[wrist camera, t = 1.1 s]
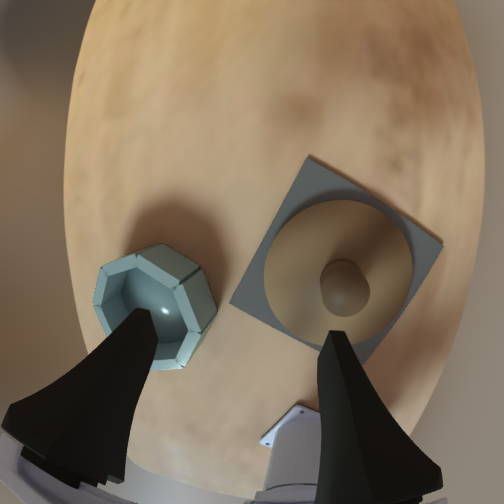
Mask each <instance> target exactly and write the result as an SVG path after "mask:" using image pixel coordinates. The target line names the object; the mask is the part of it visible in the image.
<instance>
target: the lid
mask: <svg viewBox="0 0 504 504" xmlns="http://www.w3.org/2000/svg"><path fill="white" fill-rule="evenodd" d="M412 273H413V266H412V257H411V253H410V249H409V246H408V244H407V241H406V239H405V237H404V235H403V234H402V232H401V231H400V229H399V228H398V227H397V225H396V224H395V223H394V222H393V221H392V220H391V219H390V218H389V217H388V216H386V215H385V214H384V213H382V212H381V211H379V210H377V209H376V208H374V207H372V206H369V205H366V204H364V203H360V202H356V201H351V200H330V201H325V202H321V203H318V204H315V205H312V206H310V207H308V208H306V209H304V210H302V211H301V212H299V213H298V214H296V215H295V216H293V217H292V218H291V219H290V220H289V221H288V222H287V223H286V224H285V225H284V226H283V227H282V229H281V230H280V231H279V232H278V234H277V236H276V237H275V239H274V240H273V242H272V244H271V246H270V249H269V251H268V254H267V257H266V261H265V267H264V287H265V293H266V297H267V300H268V302H269V305H270V307H271V309H272V311H273V313H274V314H275V316H276V317H277V319H278V320H279V321H280V322H281V323H282V324H283V326H284V327H285V328H286V329H288V330H289V331H290V332H292V333H293V334H294V335H296V336H298V337H299V338H301V339H303V340H305V341H308V342H310V343H313V344H317V345H322V346H323V345H324V342H325V340H326V337H327V335H328V332H329V330H340V331H345V333H346V335H347V337H348V339H349V341H350V343H351V345H353V344H357V343H360V342H363V341H365V340H367V339H369V338H371V337H373V336H375V335H376V334H378V333H380V332H381V331H382V330H383V329H385V328H386V327H387V326H388V325H389V324H390V323H391V322H392V321H393V320H394V319H395V318H396V316H397V315H398V314H399V312H400V311H401V309H402V307H403V306H404V304H405V302H406V299H407V297H408V294H409V291H410V288H411V283H412Z"/></svg>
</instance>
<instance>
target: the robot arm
mask: <svg viewBox="0 0 504 504" xmlns="http://www.w3.org/2000/svg"><path fill="white" fill-rule="evenodd" d="M158 341H159V340H158V336H157V333H156V330H155V327H154V323H153V320H152V317H151V313H150V310H148V309H142V308H137V307H136V308H135V309H134V310H133V311H132V312H131V313H130V314H129V315H128V316H127V317H126V318H125V319H124V320H123V321H122V323H121V324H120V325H119V326H118V327H117V328H116V329H115V330H114V331H113V332H112V333H111V334H110V335H109V336H108V337H107V338H106V339H105V340H104V341H103V342H102V343H101V344H100V345H99V346H98V347H97V348H95V349H94V350H93V351H92V352H91V353H90V354H89V355H88V356H87V357H86V358H85V359H83V360H82V361H81V362H80V363H79V364H78V365H76V366H75V367H74V368H73V369H71V370H70V371H69V372H67V373H66V374H65V375H63V376H62V377H60V378H59V379H58V380H56V381H55V382H53V383H52V384H50V385H48V386H47V387H45V388H43V389H42V390H40V391H38V392H36V393H35V394H32V395H31V396H29V397H26V398H24V399H22V400H20V401H17V402H15V403H13V404H11V405H10V406H9V408H8V410H7V413H6V415H5V417H4V419H3V422H2V424H1V427H2V429H3V430H5V431H6V432H7V433H8V434H9V435H11V436H12V437H13V438H15V439H16V440H17V441H19V442H20V443H22V444H23V445H24V446H23V445H22V444H20V443H18V442H17V441H15V440H14V439H13V438H11V437H10V436H8V435H7V434H6V433H2V435H1V438H0V481H1V482H2V483H3V484H4V485H6V486H7V487H8V488H9V489H10V490H11V491H12V492H13V493H14V494H15V495H16V496H17V497H18V498H19V499H20V500H21V501H22V502H23V503H25V504H137V503H134V502H131V501H129V500H126V499H123V498H121V497H118V496H115V495H113V494H111V493H108V492H106V491H103V490H101V489H99V488H97V484H98V483H100V484H103V485H105V484H106V481H107V480H108V481H111V482H114V483H117V484H120V483H122V482H124V476H125V463H126V454H127V447H128V441H129V435H130V430H131V425H132V421H133V416H134V412H135V409H136V405H137V402H138V400H139V397H140V394H141V392H142V389H143V387H144V384H145V381H146V379H147V376H148V374H149V371H150V368H151V366H152V363H153V360H154V357H155V353H156V349H157V345H158ZM317 385H318V396H319V407H320V413H318V412H316V411H313V410H311V409H308V408H306V407H303V406H301V405H295V406H294V407H293V408H292V409H291V410H290V411H289V412H288V413H287V414H286V415H285V416H284V417H283V418H282V419H281V420H280V421H279V422H278V423H277V424H276V425H275V426H274V427H273V428H272V429H271V430H270V431H269V432H268V433H266V434H265V435H264V436H263V437H262V438H261V439H260V443H261V444H262V445H265V446H267V447H270V448H272V451H271V455H270V460H269V465H268V470H267V474H266V479H265V483H264V487H263V491H257V492H256V495H255V499H254V500H247V501H246V502H244V503H243V504H419V502H422V500H423V498H422V495H425V494H428V493H431V492H434V491H437V490H439V489H441V488H442V487H443V479H442V472H441V468H440V467H439V466H438V465H437V464H436V463H434V462H433V461H432V460H431V459H430V458H429V457H428V456H427V455H426V454H424V453H423V452H422V451H421V450H420V449H419V447H417V446H416V445H415V444H414V442H413V441H412V440H411V439H410V438H409V436H408V435H407V434H406V433H405V432H404V431H403V430H402V428H401V427H400V426H399V425H398V423H397V422H396V421H395V419H394V418H393V417H392V415H391V414H390V412H389V411H388V410H387V408H386V407H385V405H384V404H383V402H382V401H381V399H380V397H379V396H378V394H377V392H376V391H375V389H374V387H373V386H372V384H371V382H370V380H369V379H368V377H367V375H366V373H365V371H364V369H363V368H362V366H361V364H360V362H359V360H358V358H357V356H356V354H355V352H354V350H353V347H352V345H351V343H350V341H349V339H348V337H347V335H346V333H345V331H340V330H329V332H328V335H327V337H326V340H325V342H324V345H323V347H322V349H321V352H320V354H319V357H318V363H317ZM427 504H448V499H447V498H446V497H445V498H442V499H439V500H436V501H433V502H430V503H427Z"/></svg>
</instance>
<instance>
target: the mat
mask: <svg viewBox="0 0 504 504" xmlns="http://www.w3.org/2000/svg"><path fill="white" fill-rule="evenodd" d="M330 200H351V201H356V202H360V203H364V204H366V205H369V206H372V207H374V208H376V209H377V210H379V211H381V212H382V213H384V214H385V215H386V216H388V217H389V218H390V219H391V220H392V221H393V222H394V223H395V224H396V225H397V227H398V228H399V229H400V231H401V232H402V234H403V235H404V237H405V239H406V241H407V244H408V246H409V249H410V253H411V257H412V266H413V273H412V283H411V288H410V291H409V294H408V297H407V299H406V302H405V304H404V306H403V307H402V309H401V311H400V312H399V314H398V315H397V316H396V318H395V319H394V320H393V321H392V322H391V323H390V324H389V325H388V326H387V327H386V328H385V329H383V330H382V331H381V332H380V333H378V334H376V335H375V336H373V337H371V338H369V339H367V340H365V341H363V342H360V343H357V344H353V345H352V347H353V350H354V352H355V354H356V356H357V358H358V360H359V362H360V364H361V365H362V364H363V363H364V362H365V361H366V360H367V358H368V357H369V356H370V355H371V353H372V352H373V351H374V350H375V348H376V347H377V346H378V345H379V343H380V342H381V341H382V340H383V338H384V337H385V336H386V334H387V333H388V332H389V330H390V329H391V328H392V326H393V325H394V324H395V322H396V321H397V320H398V318H399V317H400V315H401V314H402V312H403V311H404V310H405V308H406V307H407V305H408V304H409V302H410V301H411V299H412V298H413V296H414V295H415V293H416V292H417V290H418V289H419V287H420V285H421V284H422V282H423V281H424V279H425V277H426V276H427V274H428V273H429V271H430V269H431V267H432V266H433V264H434V262H435V261H436V259H437V257H438V255H439V254H440V252H441V250H442V248H443V245H442V244H440V243H439V242H438V241H436V240H435V239H434V238H432V237H431V236H430V235H428V234H427V233H426V232H424V231H423V230H422V229H420V228H419V227H418V226H416V225H415V224H413V223H412V222H411V221H409V220H408V219H406V218H405V217H403V216H402V215H401V214H399V213H398V212H396V211H395V210H393V209H392V208H390V207H389V206H387V205H386V204H384V203H383V202H381V201H379V200H378V199H376V198H375V197H373V196H372V195H370V194H368V193H367V192H365V191H364V190H362V189H360V188H359V187H357V186H355V185H354V184H352V183H350V182H349V181H347V180H345V179H344V178H342V177H340V176H339V175H337V174H335V173H333V172H332V171H330V170H328V169H326V168H324V167H323V166H321V165H319V164H317V163H315V162H313V161H312V160H310V159H308V158H307V159H306V161H305V163H304V165H303V167H302V168H301V170H300V172H299V174H298V176H297V178H296V180H295V182H294V183H293V185H292V187H291V189H290V191H289V193H288V195H287V196H286V198H285V200H284V202H283V204H282V206H281V208H280V210H279V211H278V213H277V215H276V217H275V219H274V221H273V223H272V225H271V226H270V228H269V230H268V232H267V234H266V236H265V238H264V239H263V241H262V243H261V245H260V247H259V249H258V251H257V252H256V254H255V256H254V258H253V260H252V262H251V264H250V265H249V267H248V269H247V271H246V273H245V275H244V277H243V278H242V280H241V282H240V284H239V286H238V288H237V290H236V291H235V293H234V295H233V297H232V299H231V301H230V302H229V303H230V304H232V305H233V306H235V307H237V308H239V309H241V310H242V311H244V312H246V313H248V314H250V315H251V316H253V317H255V318H257V319H259V320H260V321H262V322H264V323H266V324H268V325H270V326H272V327H273V328H275V329H277V330H279V331H281V332H283V333H285V334H287V335H289V336H290V337H292V338H294V339H296V340H298V341H300V342H302V343H304V344H306V345H308V346H310V347H312V348H314V349H316V350H318V351H320V352H321V349H322V347H323V346H322V345H317V344H313V343H310V342H308V341H305V340H303V339H301V338H299V337H298V336H296V335H294V334H293V333H292V332H290V331H289V330H288V329H286V328H285V327H284V326H283V324H282V323H281V322H280V321H279V320H278V319H277V317H276V316H275V314H274V313H273V311H272V309H271V307H270V305H269V302H268V300H267V297H266V293H265V287H264V267H265V261H266V257H267V254H268V251H269V249H270V246H271V244H272V242H273V240H274V239H275V237H276V236H277V234H278V232H279V231H280V230H281V229H282V227H283V226H284V225H285V224H286V223H287V222H288V221H289V220H290V219H291V218H292V217H293V216H295V215H296V214H298V213H299V212H301V211H302V210H304V209H306V208H308V207H310V206H312V205H315V204H318V203H321V202H325V201H330Z"/></svg>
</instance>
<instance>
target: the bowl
mask: <svg viewBox="0 0 504 504" xmlns="http://www.w3.org/2000/svg"><path fill="white" fill-rule="evenodd" d="M199 267H200V265H198V264H196V263H195V262H193V261H191V260H190V259H188V258H186V257H185V256H183V255H181V254H180V253H178V252H176V251H175V250H173V249H171V248H170V247H168V246H166V245H165V244H157V245H154V246H151V247H148V248H145V249H142V250H139V251H137V252H134V253H131V254H128V255H126V256H123V257H121V258H118V259H116V260H114V261H111V262H109V263H106V264H104V265H102V267H100V270H99V274H98V279H97V283H96V288H95V292H94V297H93V302H92V303H94V304H95V305H93V307H94V310H95V312H96V314H97V317H98V319H99V321H100V323H101V326H102V328H103V330H104V332H105V334H106V336H107V337H108V336H109V335H110V334H111V333H112V332H113V331H114V330H115V329H116V328H117V327H118V326H119V325H120V324H121V323H122V321H123V320H124V319H125V318H126V317H127V316H128V315H129V314H130V313H131V312H132V311H133V310H134V309H135V308H136V307H137V308H142V309H148V310H150V313H151V317H152V320H153V323H154V327H155V330H156V333H157V336H158V340H159V341H158V345H157V349H156V353H155V357H154V360H153V363H152V366H151V368H150V370H166V369H182V368H183V367H185V366H186V365H187V363H188V362H189V360H190V359H191V358H192V356H193V355H194V353H195V352H196V350H197V349H198V348H199V346H200V345H201V343H202V341H203V339H204V337H205V336H206V334H207V332H208V330H209V328H210V326H211V324H212V322H213V320H214V319H215V317H216V315H217V313H216V311H217V307H216V305H215V302H214V299H213V296H212V294H211V291H210V288H209V285H208V283H207V280H206V277H205V274H204V271H203V269H199ZM198 269H199V270H198Z"/></svg>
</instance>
